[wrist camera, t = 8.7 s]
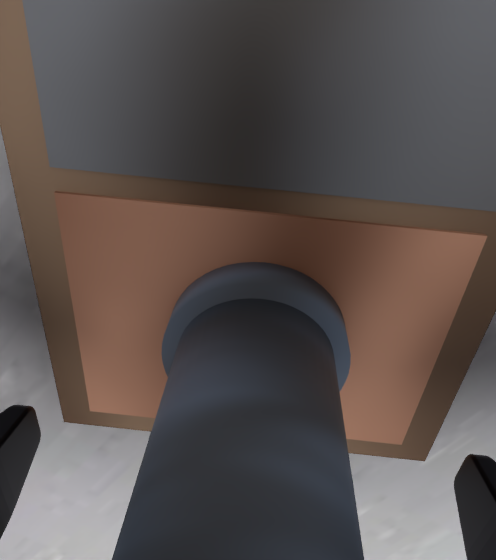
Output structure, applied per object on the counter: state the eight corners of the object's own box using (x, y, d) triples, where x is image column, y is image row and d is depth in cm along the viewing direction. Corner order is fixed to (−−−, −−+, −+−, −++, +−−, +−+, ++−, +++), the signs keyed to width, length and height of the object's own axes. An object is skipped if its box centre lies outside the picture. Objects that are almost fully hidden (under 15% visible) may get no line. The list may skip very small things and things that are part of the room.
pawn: (363, 272, 11) (559, 922, 3) (328, 407, 13) (390, 945, 6) (168, 252, 11) (-104, 840, 3) (171, 390, 13) (24, 899, 6)
